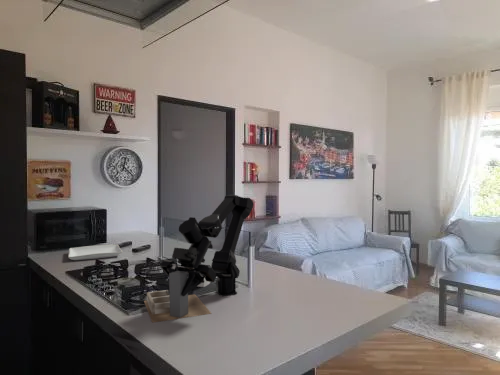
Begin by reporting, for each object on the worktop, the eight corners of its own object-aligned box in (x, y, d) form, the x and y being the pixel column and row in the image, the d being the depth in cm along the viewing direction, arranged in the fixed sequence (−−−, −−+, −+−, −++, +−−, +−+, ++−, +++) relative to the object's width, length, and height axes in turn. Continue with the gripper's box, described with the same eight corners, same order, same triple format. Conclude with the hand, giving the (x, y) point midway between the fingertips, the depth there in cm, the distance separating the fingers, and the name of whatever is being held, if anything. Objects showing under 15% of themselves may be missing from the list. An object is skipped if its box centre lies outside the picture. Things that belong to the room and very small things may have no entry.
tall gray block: (178, 311, 116) (177, 270, 116) (188, 313, 114) (187, 271, 114) (169, 315, 112) (169, 273, 112) (180, 317, 111) (179, 274, 110)
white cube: (204, 287, 146) (204, 272, 146) (190, 286, 148) (190, 271, 147) (210, 283, 152) (210, 268, 151) (197, 282, 153) (196, 267, 153)
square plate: (69, 253, 217) (69, 247, 217) (118, 249, 229) (118, 243, 229) (68, 263, 193) (67, 255, 193) (122, 257, 204) (122, 250, 204)
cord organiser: (195, 296, 133) (195, 285, 133) (211, 316, 114) (211, 302, 114) (143, 303, 126) (143, 291, 126) (152, 325, 107) (152, 311, 107)
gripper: (163, 235, 121) (139, 277, 111) (210, 239, 112) (189, 284, 102) (178, 255, 128) (157, 295, 118) (224, 259, 119) (205, 304, 110)
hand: (176, 294), depth 112 cm, fingers open, 5 cm apart
